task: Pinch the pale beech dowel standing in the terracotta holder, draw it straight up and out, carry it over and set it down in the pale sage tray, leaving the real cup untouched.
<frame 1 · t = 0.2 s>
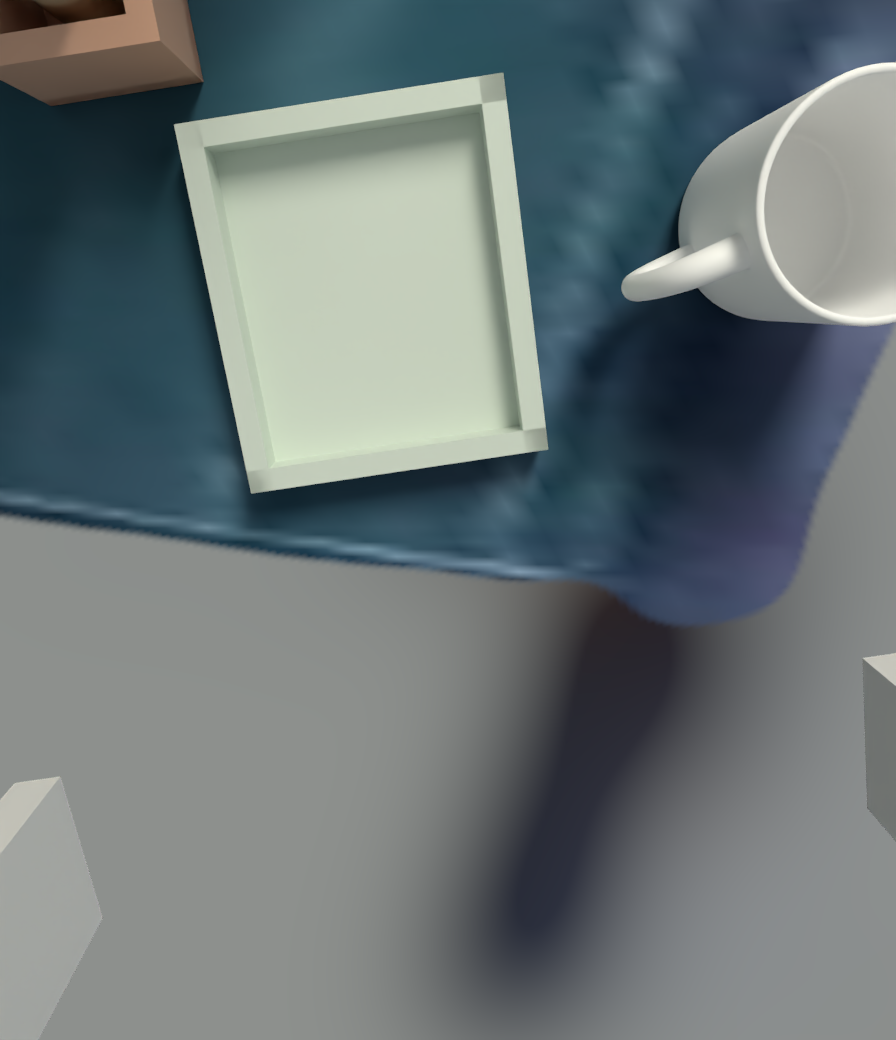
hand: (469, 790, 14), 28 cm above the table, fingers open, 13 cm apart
holder: (108, 8, 36), on the table
pin: (99, 0, 35), point 1 cm above the table, touching holder
tray: (374, 295, 39), on the table
cup: (724, 241, 39), on the table
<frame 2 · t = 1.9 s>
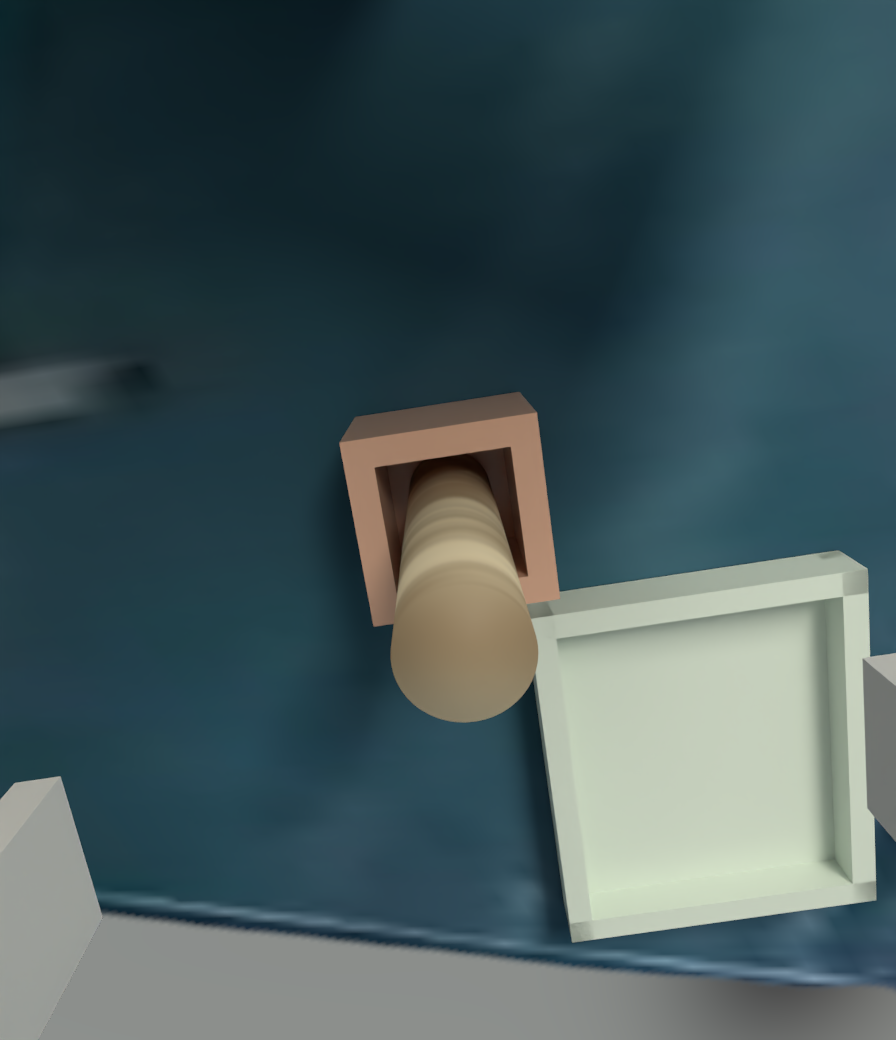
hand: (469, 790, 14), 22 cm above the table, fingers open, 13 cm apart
holder: (449, 484, 35), on the table
pin: (449, 490, 34), point 1 cm above the table, touching holder
tray: (693, 736, 38), on the table
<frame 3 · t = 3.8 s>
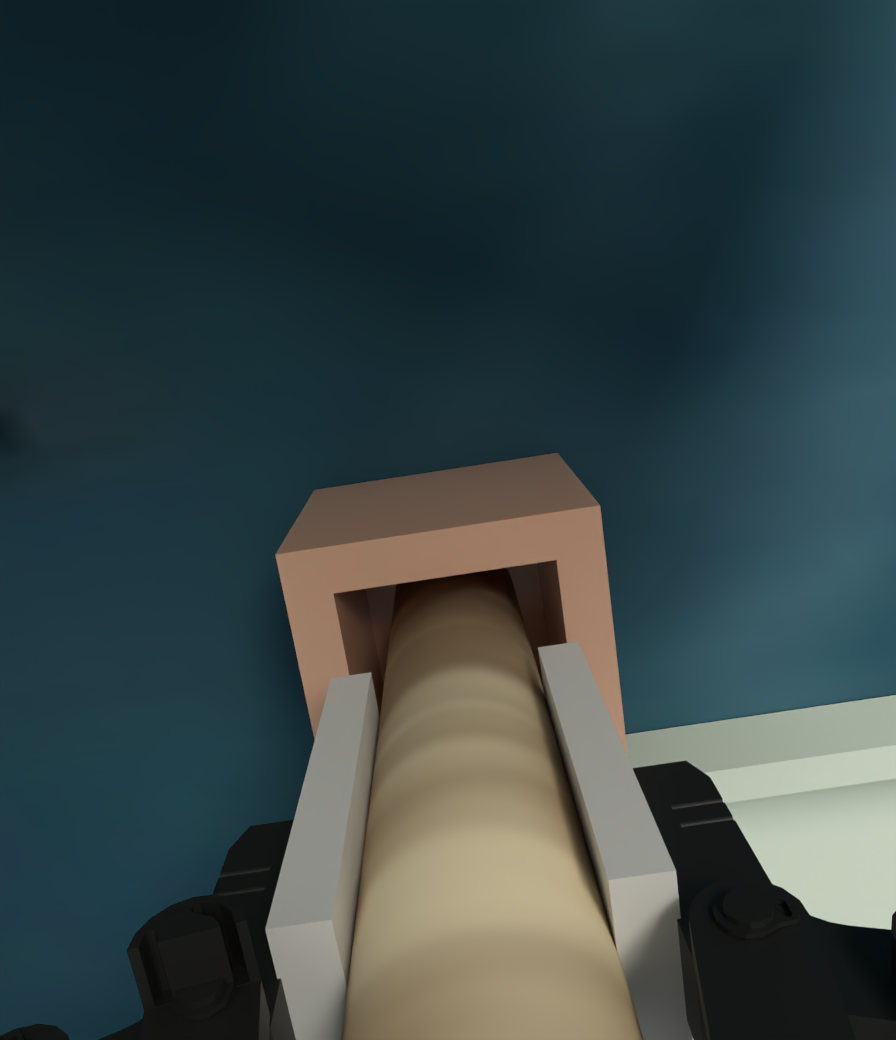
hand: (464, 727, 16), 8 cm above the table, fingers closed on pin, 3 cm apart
holder: (453, 586, 24), on the table
pin: (454, 598, 23), point 1 cm above the table, touching gripper, holder
tray: (798, 932, 27), on the table
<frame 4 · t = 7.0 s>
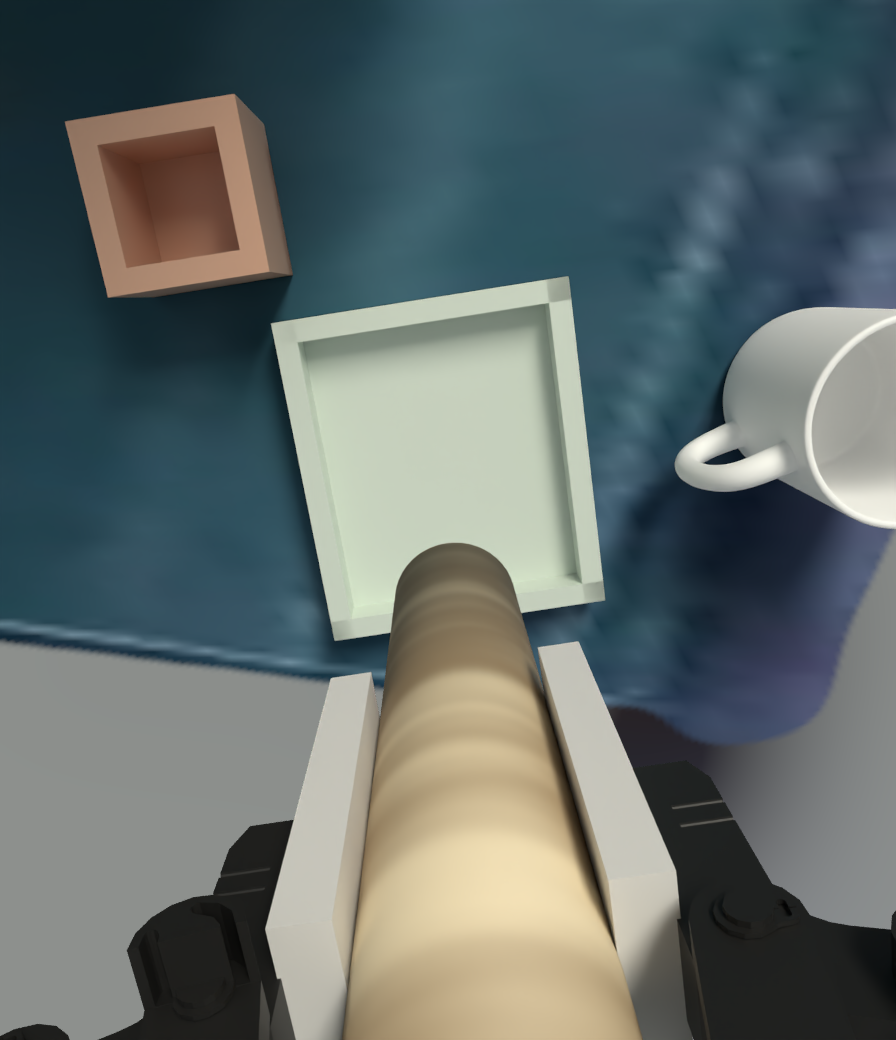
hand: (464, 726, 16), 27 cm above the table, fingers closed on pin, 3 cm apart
holder: (207, 212, 39), on the table
pin: (455, 600, 23), point 20 cm above the table, touching gripper
tray: (444, 458, 43), on the table
cup: (764, 407, 43), on the table
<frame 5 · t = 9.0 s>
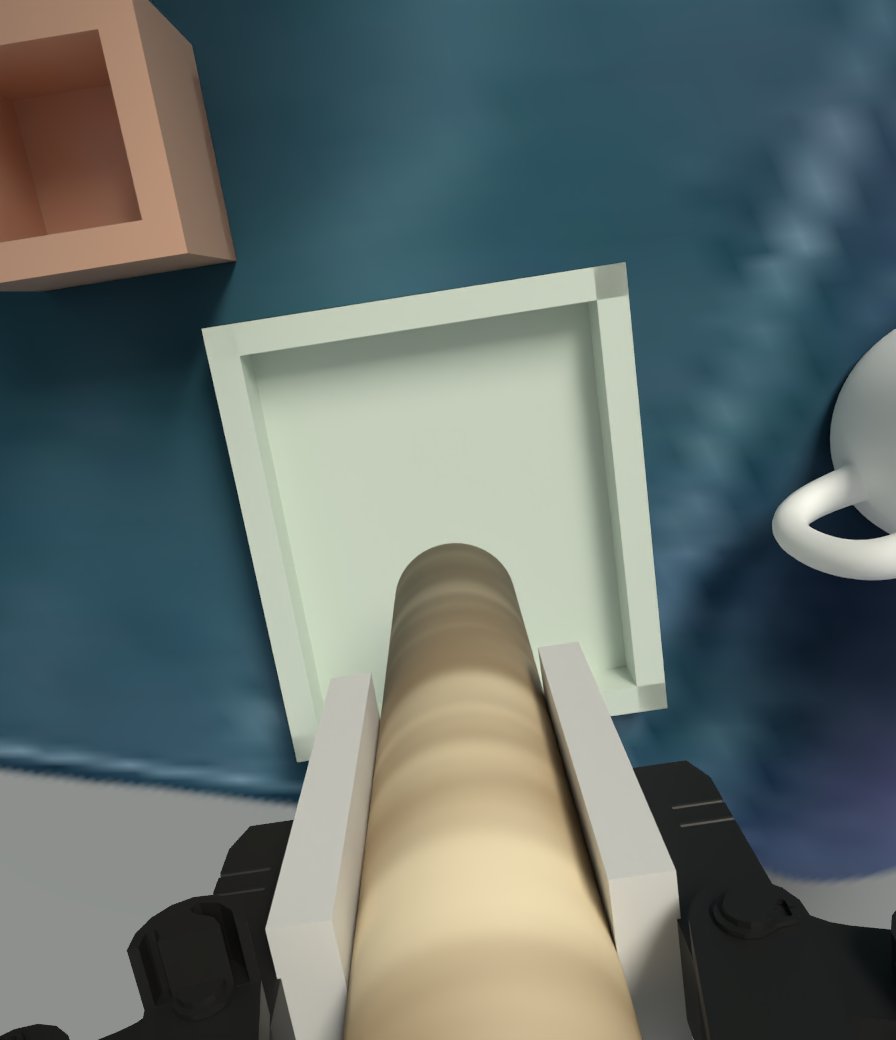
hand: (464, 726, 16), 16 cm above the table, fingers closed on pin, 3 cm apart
holder: (115, 172, 28), on the table
pin: (455, 600, 23), point 9 cm above the table, touching gripper
tray: (447, 512, 31), on the table
cup: (884, 444, 31), on the table
when the fingers open (9 cm above the table, at t = 10.5 s): pin drops 2 cm, resting on tray.
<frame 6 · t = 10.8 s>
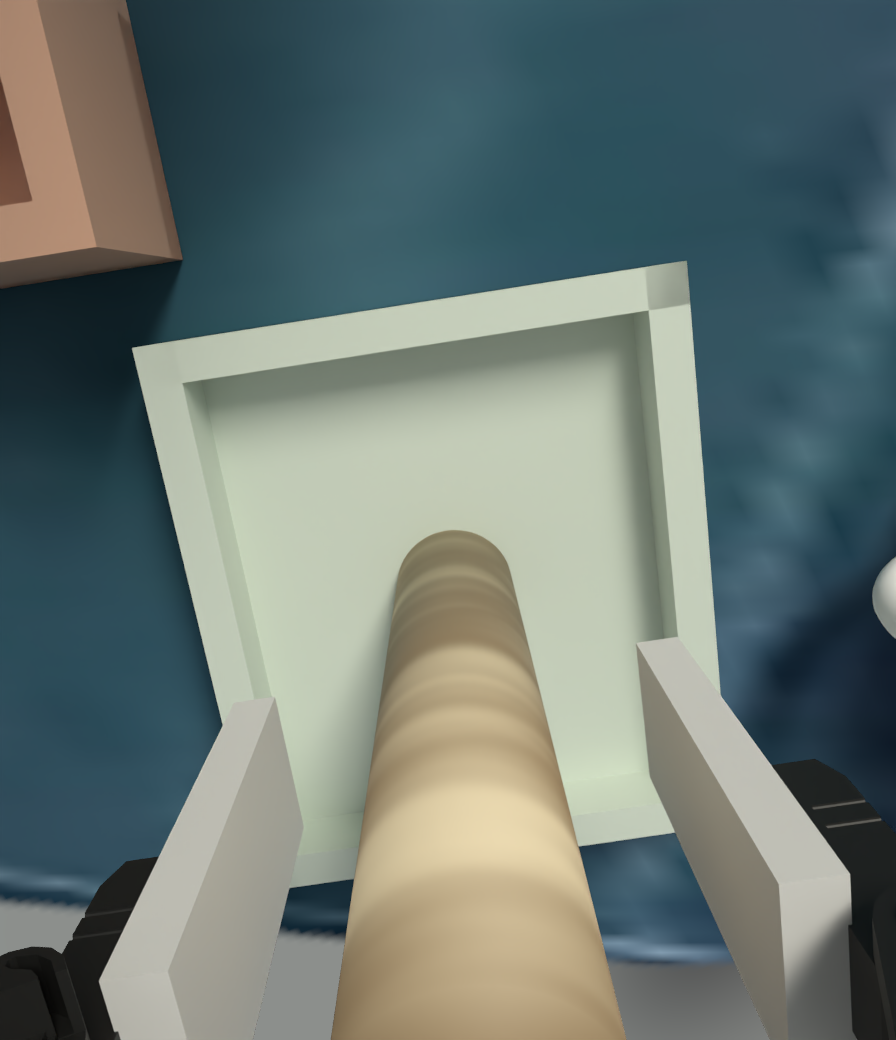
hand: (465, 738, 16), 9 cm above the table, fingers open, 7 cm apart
holder: (25, 145, 22), on the table
pin: (454, 584, 24), point 1 cm above the table, touching tray
tray: (452, 575, 25), on the table
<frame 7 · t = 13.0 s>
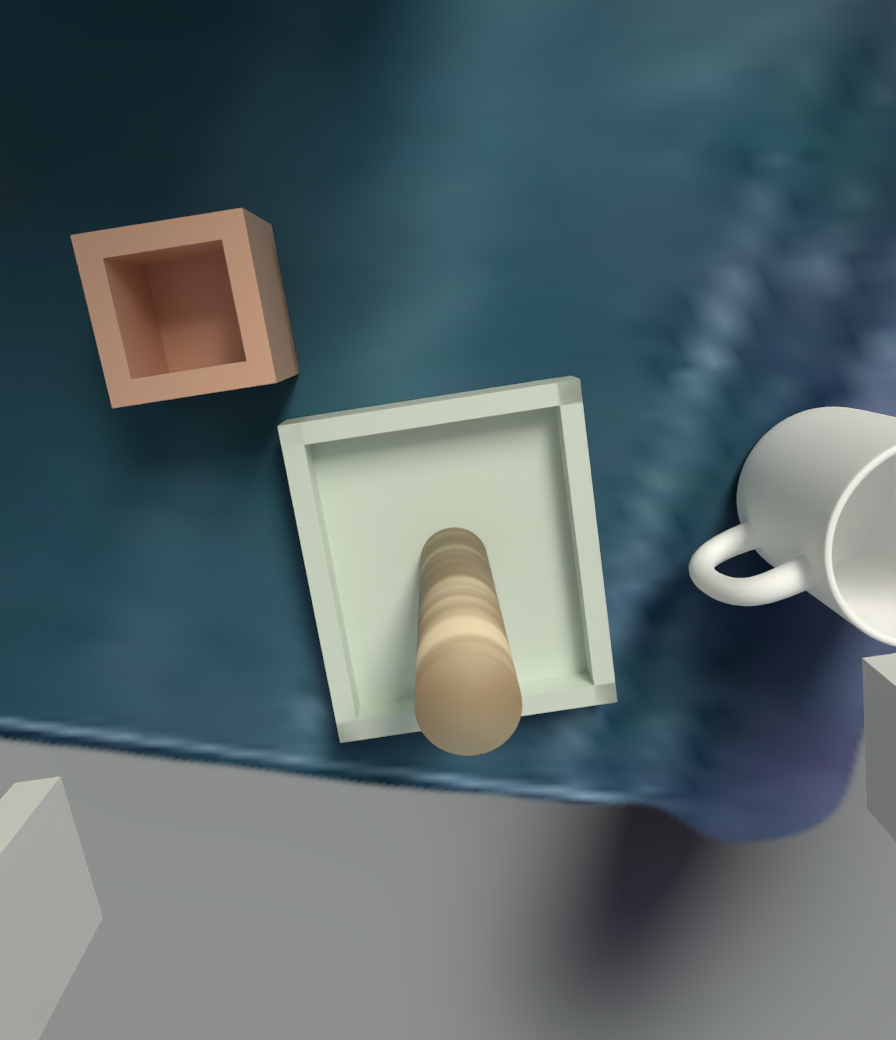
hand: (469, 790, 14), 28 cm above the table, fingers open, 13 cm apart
holder: (214, 311, 39), on the table
pin: (454, 559, 41), point 1 cm above the table, touching tray
tray: (453, 555, 42), on the table
cup: (778, 504, 42), on the table
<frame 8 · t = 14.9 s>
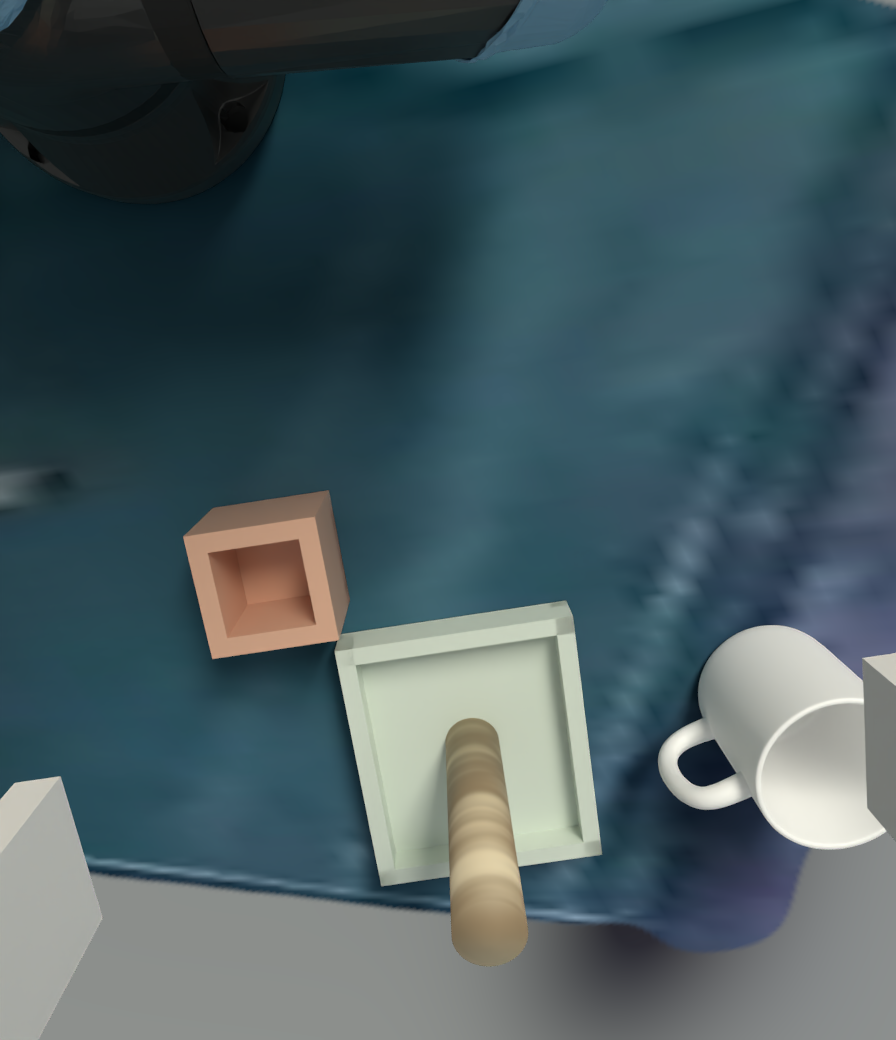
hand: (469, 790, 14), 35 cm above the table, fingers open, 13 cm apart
holder: (282, 554, 49), on the table
pin: (472, 742, 51), point 1 cm above the table, touching tray
tray: (471, 735, 52), on the table
cup: (732, 695, 52), on the table
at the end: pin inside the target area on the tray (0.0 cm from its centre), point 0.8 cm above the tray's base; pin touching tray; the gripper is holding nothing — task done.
